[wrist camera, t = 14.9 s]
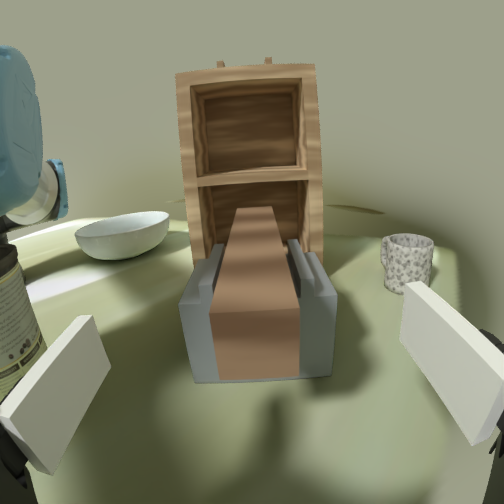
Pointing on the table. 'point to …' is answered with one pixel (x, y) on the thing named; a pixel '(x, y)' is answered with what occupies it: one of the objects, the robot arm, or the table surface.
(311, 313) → the grey cradle
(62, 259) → the table surface
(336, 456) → the table surface
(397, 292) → the mug
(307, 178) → the oak stand
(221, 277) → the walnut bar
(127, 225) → the serving bowl
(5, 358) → the coffee can
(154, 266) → the table surface
